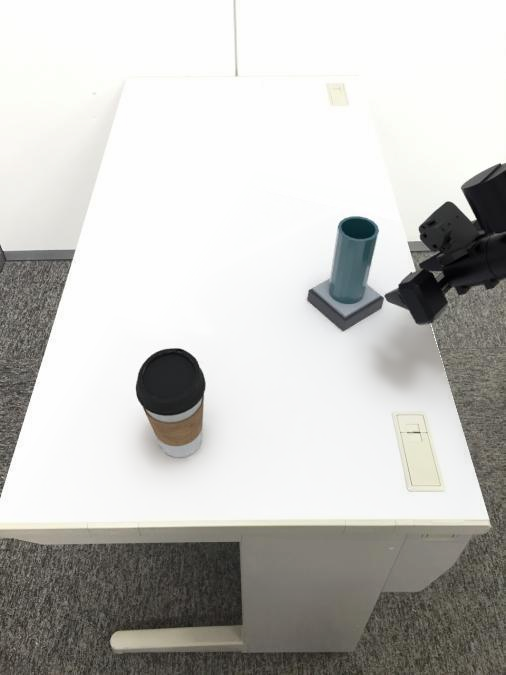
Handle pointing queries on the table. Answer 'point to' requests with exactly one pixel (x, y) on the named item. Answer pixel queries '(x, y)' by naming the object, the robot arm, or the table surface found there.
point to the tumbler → (352, 259)
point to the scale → (344, 305)
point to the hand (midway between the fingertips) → (403, 281)
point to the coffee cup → (173, 399)
